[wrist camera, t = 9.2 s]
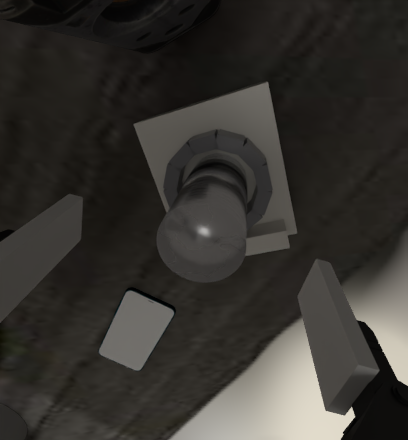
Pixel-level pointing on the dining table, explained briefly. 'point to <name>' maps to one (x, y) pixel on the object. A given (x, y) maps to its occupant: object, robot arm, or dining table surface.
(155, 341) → the smartphone
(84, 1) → the electronic device
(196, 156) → the grey base with ring
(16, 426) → the bowl
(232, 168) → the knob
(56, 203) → the robot arm
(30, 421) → the dining table surface
